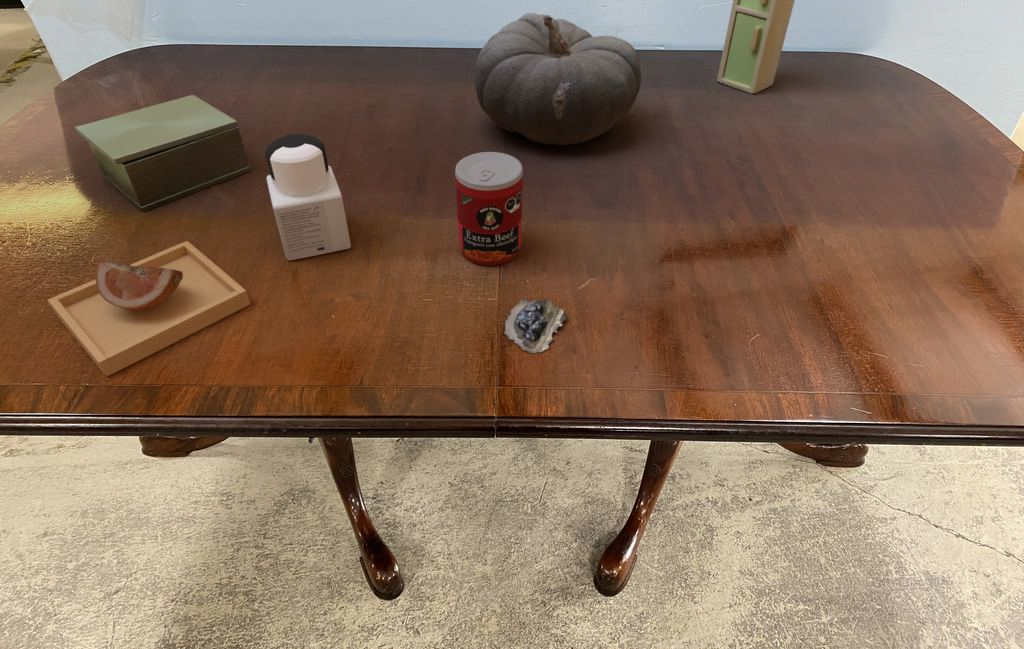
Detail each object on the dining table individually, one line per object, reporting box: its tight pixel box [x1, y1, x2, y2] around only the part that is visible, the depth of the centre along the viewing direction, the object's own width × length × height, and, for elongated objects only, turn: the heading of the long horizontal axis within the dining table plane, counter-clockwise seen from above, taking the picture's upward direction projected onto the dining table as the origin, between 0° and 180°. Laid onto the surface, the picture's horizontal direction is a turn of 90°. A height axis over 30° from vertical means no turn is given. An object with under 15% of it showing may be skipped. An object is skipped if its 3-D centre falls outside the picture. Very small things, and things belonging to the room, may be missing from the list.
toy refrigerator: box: [716, 0, 796, 95], centre depth 115 cm, size 8×7×21 cm
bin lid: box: [74, 94, 239, 165], centre depth 90 cm, size 16×13×1 cm
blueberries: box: [503, 298, 568, 354], centre depth 71 cm, size 7×8×2 cm
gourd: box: [474, 12, 642, 146], centre depth 103 cm, size 25×25×17 cm
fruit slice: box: [95, 261, 183, 310], centre depth 71 cm, size 8×7×5 cm
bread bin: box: [87, 125, 251, 213], centre depth 93 cm, size 16×13×7 cm
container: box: [264, 133, 352, 261], centre depth 79 cm, size 8×8×13 cm
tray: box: [47, 240, 251, 377], centre depth 72 cm, size 16×14×2 cm
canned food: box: [454, 151, 524, 266], centre depth 79 cm, size 8×8×11 cm
